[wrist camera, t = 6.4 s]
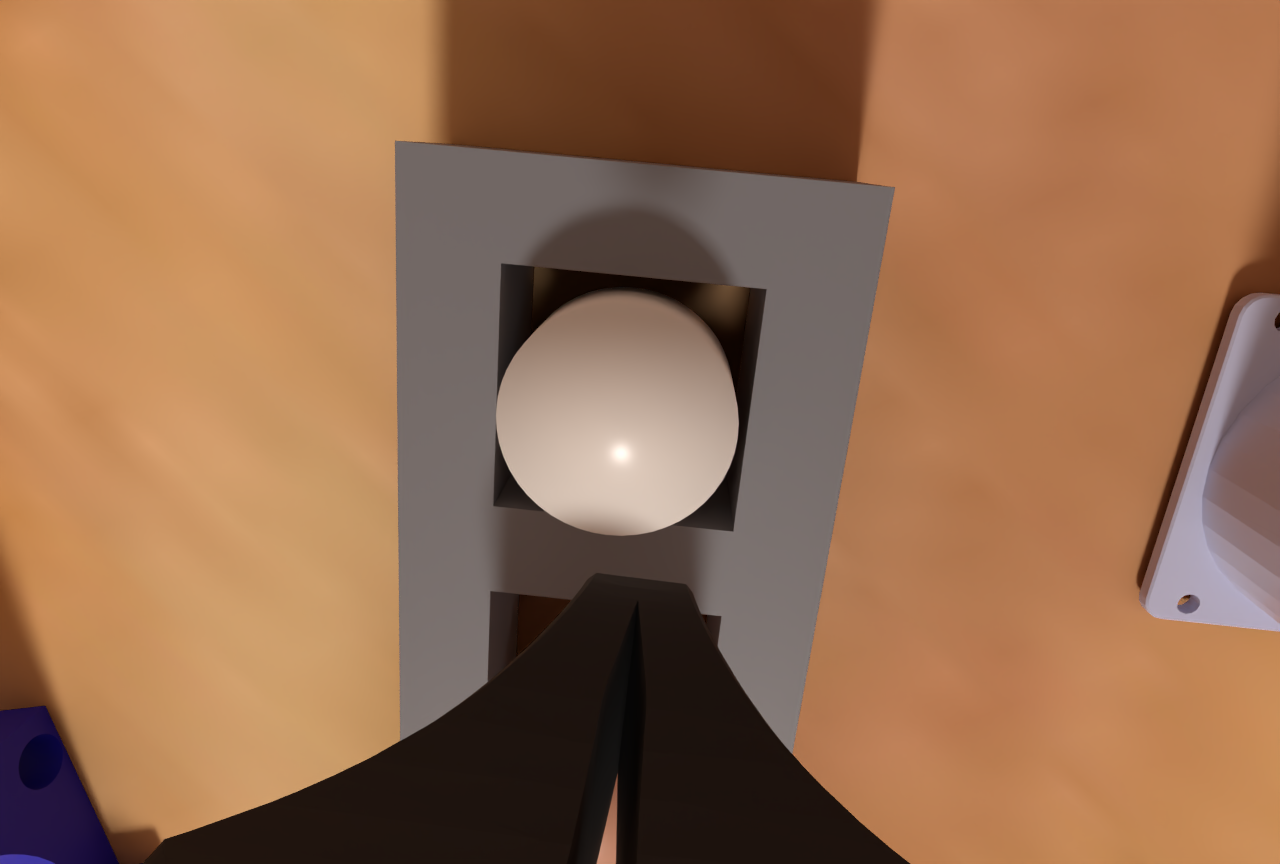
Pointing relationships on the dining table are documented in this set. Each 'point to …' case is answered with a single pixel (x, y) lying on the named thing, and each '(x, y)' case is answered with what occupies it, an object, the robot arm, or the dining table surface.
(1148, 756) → the dining table surface
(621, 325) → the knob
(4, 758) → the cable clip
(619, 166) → the mount
